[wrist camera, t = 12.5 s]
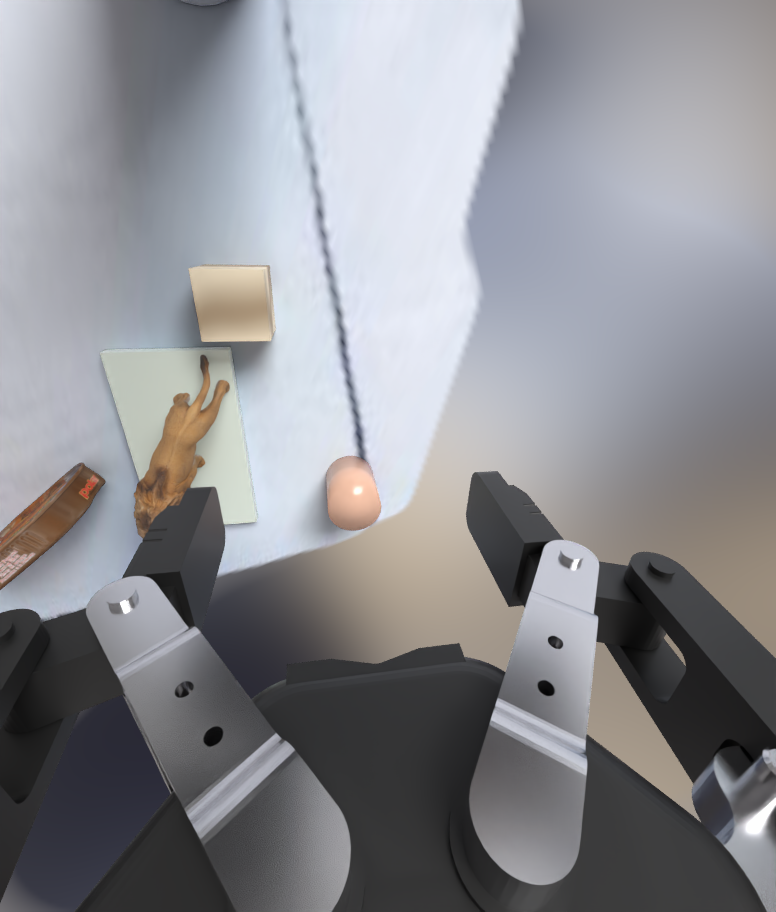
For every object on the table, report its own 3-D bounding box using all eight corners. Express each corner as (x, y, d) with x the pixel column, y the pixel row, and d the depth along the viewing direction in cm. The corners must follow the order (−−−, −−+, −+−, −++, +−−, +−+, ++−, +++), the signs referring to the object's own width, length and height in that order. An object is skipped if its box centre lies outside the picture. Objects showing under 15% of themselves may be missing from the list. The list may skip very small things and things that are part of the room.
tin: (95, 447, 38) (44, 497, 31) (125, 469, 40) (83, 522, 33) (-7, 537, 41) (-77, 603, 34) (24, 554, 42) (-36, 621, 35)
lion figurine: (213, 500, 41) (189, 562, 34) (154, 491, 40) (116, 553, 32) (236, 360, 36) (213, 396, 28) (168, 343, 34) (125, 375, 26)
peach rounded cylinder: (324, 457, 43) (326, 488, 37) (373, 454, 43) (381, 484, 38) (327, 498, 45) (329, 532, 40) (373, 494, 46) (380, 528, 40)
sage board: (106, 349, 35) (99, 353, 34) (230, 346, 36) (228, 350, 35) (158, 523, 43) (154, 530, 42) (257, 515, 45) (256, 522, 43)
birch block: (204, 264, 33) (188, 268, 29) (269, 265, 34) (263, 269, 29) (215, 328, 35) (201, 341, 31) (275, 328, 36) (270, 341, 32)
